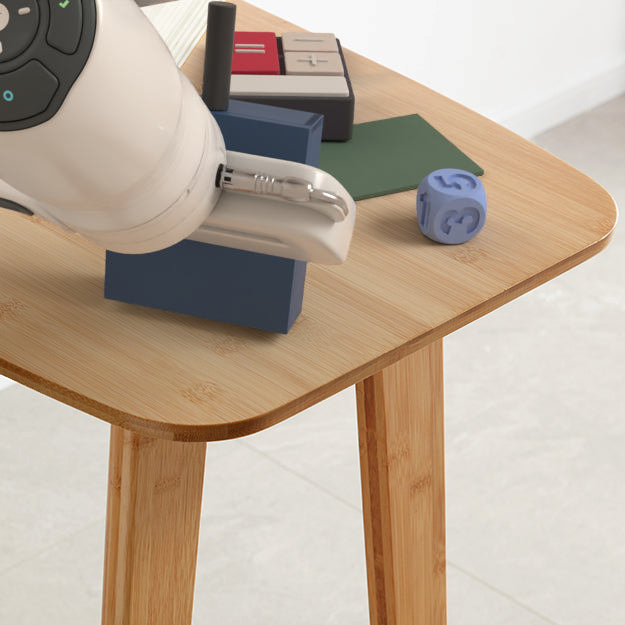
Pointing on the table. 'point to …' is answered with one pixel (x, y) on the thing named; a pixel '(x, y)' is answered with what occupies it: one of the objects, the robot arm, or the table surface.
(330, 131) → the calculator
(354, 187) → the mat
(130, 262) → the dustpan
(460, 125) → the table surface
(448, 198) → the decorative dice
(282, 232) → the robot arm
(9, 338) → the table surface
